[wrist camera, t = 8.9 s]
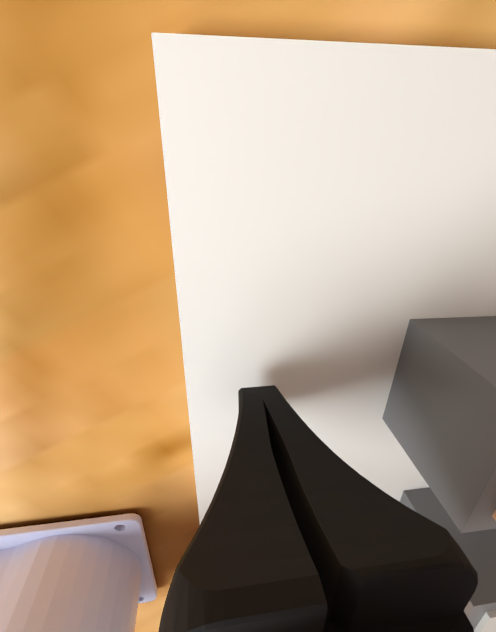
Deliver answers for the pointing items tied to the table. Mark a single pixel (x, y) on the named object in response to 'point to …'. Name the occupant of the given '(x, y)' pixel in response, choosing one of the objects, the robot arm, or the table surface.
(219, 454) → the panel
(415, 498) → the mounted module
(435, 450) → the block
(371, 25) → the table surface
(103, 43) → the table surface
